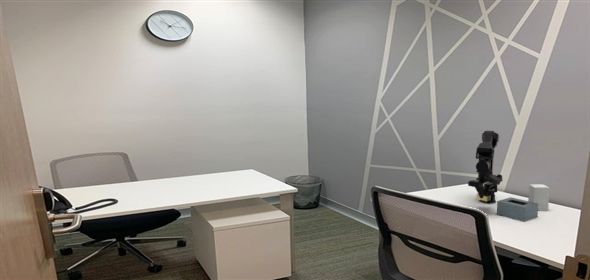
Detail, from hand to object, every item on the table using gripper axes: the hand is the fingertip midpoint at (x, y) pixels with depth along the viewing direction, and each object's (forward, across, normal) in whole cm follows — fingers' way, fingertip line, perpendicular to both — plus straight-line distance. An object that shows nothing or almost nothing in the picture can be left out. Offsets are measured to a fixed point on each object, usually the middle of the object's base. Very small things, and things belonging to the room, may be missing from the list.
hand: (483, 197), depth 202 cm
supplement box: (+8, +27, -14) cm, 31 cm away
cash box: (+7, +7, -14) cm, 17 cm away
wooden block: (+1, 0, 0) cm, 1 cm away
